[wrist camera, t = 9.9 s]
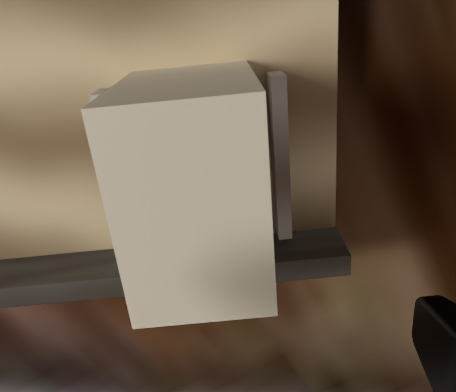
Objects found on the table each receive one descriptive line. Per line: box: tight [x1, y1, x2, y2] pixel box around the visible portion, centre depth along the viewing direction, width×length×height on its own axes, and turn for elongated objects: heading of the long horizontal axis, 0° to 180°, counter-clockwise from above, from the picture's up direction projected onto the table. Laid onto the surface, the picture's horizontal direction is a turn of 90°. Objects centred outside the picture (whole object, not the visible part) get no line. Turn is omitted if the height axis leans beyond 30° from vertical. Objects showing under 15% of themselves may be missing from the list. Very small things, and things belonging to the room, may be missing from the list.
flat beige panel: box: [0, 0, 351, 308], centre depth 17 cm, size 14×22×4 cm, turn 95°
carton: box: [81, 60, 278, 329], centre depth 15 cm, size 5×7×7 cm, turn 5°
